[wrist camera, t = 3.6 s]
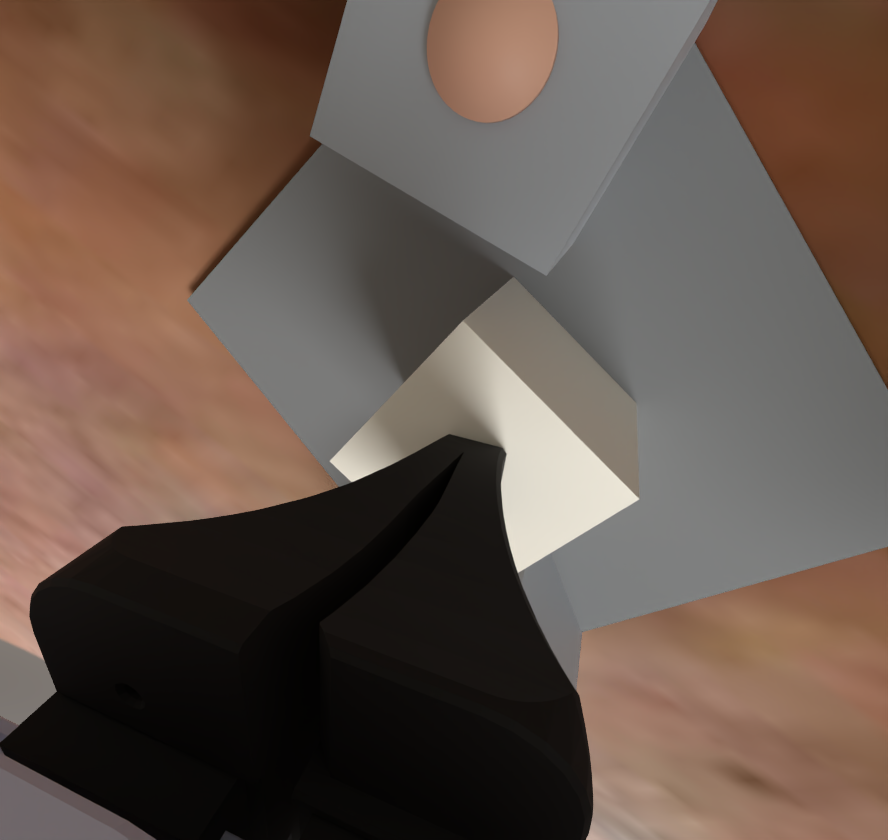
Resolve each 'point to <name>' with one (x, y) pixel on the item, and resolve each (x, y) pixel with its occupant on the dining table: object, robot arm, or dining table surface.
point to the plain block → (517, 421)
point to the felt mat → (600, 349)
